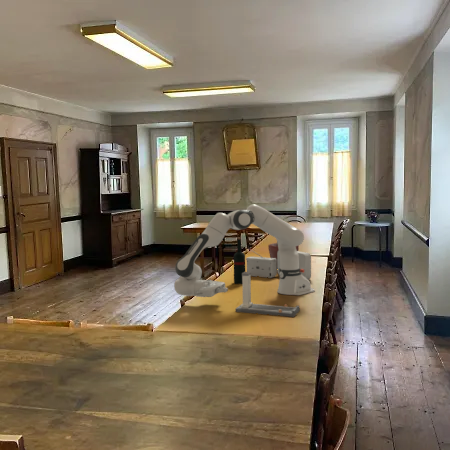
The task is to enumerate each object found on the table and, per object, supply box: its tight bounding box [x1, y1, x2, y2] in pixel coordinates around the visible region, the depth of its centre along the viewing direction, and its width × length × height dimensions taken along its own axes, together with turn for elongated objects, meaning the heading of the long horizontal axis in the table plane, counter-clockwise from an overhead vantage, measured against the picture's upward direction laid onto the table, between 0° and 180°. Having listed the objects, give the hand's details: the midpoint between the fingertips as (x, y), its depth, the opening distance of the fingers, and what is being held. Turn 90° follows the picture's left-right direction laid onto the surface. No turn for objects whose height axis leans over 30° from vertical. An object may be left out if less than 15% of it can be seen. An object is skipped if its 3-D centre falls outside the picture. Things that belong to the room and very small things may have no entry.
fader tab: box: [240, 271, 254, 308], centre depth 232 cm, size 4×7×17 cm, turn 158°
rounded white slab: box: [277, 250, 312, 280], centre depth 314 cm, size 29×8×18 cm, turn 33°
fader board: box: [235, 303, 301, 318], centre depth 229 cm, size 30×12×3 cm, turn 68°
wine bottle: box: [233, 236, 246, 285], centre depth 298 cm, size 8×10×30 cm
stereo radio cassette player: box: [245, 247, 278, 279], centre depth 318 cm, size 21×8×20 cm, turn 58°
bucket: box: [268, 242, 300, 269], centre depth 345 cm, size 24×22×25 cm
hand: (226, 290), depth 237 cm, fingers closed
